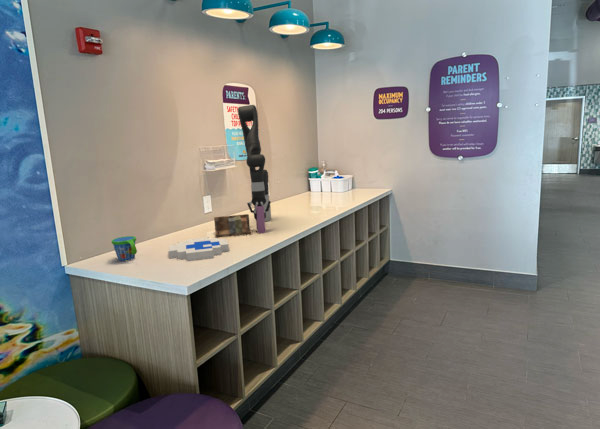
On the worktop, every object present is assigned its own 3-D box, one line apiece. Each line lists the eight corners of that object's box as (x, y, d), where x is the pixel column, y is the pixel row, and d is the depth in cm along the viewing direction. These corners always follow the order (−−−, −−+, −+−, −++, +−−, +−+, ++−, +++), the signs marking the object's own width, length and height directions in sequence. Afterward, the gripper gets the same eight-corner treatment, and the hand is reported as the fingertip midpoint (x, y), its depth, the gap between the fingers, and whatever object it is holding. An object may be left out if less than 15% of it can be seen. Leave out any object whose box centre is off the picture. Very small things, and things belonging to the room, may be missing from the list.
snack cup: (108, 259, 202) (105, 238, 200) (129, 254, 209) (127, 234, 207) (123, 265, 191) (120, 243, 189) (144, 259, 199) (142, 238, 197)
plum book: (263, 229, 249) (261, 204, 246) (265, 232, 240) (263, 206, 237) (256, 229, 248) (254, 204, 246) (258, 233, 239) (256, 207, 236)
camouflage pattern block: (249, 229, 249) (248, 214, 248) (251, 234, 238) (250, 217, 236) (215, 233, 246) (214, 217, 244) (215, 237, 234) (214, 221, 232)
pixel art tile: (224, 235, 223) (230, 248, 196) (225, 242, 224) (230, 256, 197) (169, 241, 216) (168, 255, 189) (170, 248, 217) (168, 264, 190)
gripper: (269, 188, 244) (271, 216, 248) (245, 189, 242) (247, 219, 245) (271, 189, 237) (273, 219, 240) (246, 191, 234) (248, 221, 238)
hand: (260, 219), depth 243 cm, fingers closed on plum book, 4 cm apart
